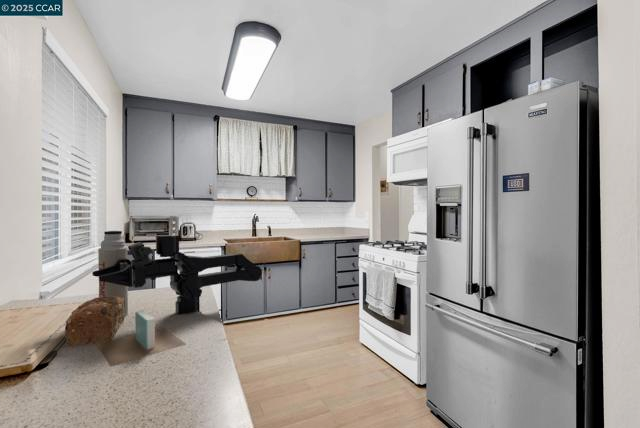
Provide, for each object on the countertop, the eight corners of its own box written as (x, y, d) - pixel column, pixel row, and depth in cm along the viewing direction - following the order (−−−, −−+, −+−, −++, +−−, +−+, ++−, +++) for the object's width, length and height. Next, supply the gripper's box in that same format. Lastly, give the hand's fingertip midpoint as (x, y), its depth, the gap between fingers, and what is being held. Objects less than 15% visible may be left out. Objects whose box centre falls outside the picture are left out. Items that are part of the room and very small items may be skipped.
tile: (143, 336, 83) (143, 310, 83) (154, 347, 77) (154, 318, 77) (135, 338, 82) (135, 312, 82) (146, 349, 75) (146, 320, 75)
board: (164, 331, 90) (163, 327, 90) (186, 348, 79) (186, 343, 79) (96, 348, 79) (96, 344, 79) (110, 371, 67) (110, 366, 67)
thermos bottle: (102, 322, 98) (101, 232, 98) (96, 316, 103) (95, 231, 103) (131, 315, 104) (130, 230, 104) (123, 310, 109) (123, 229, 109)
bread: (113, 346, 81) (112, 307, 81) (61, 353, 77) (61, 312, 77) (126, 322, 98) (126, 290, 98) (85, 327, 94) (85, 294, 94)
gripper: (146, 240, 104) (89, 244, 93) (166, 244, 91) (102, 249, 80) (147, 274, 105) (89, 281, 94) (167, 283, 91) (102, 293, 80)
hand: (95, 276), depth 87 cm, fingers open, 9 cm apart
